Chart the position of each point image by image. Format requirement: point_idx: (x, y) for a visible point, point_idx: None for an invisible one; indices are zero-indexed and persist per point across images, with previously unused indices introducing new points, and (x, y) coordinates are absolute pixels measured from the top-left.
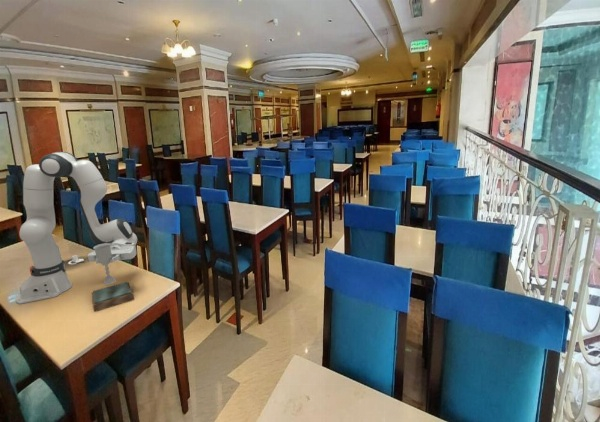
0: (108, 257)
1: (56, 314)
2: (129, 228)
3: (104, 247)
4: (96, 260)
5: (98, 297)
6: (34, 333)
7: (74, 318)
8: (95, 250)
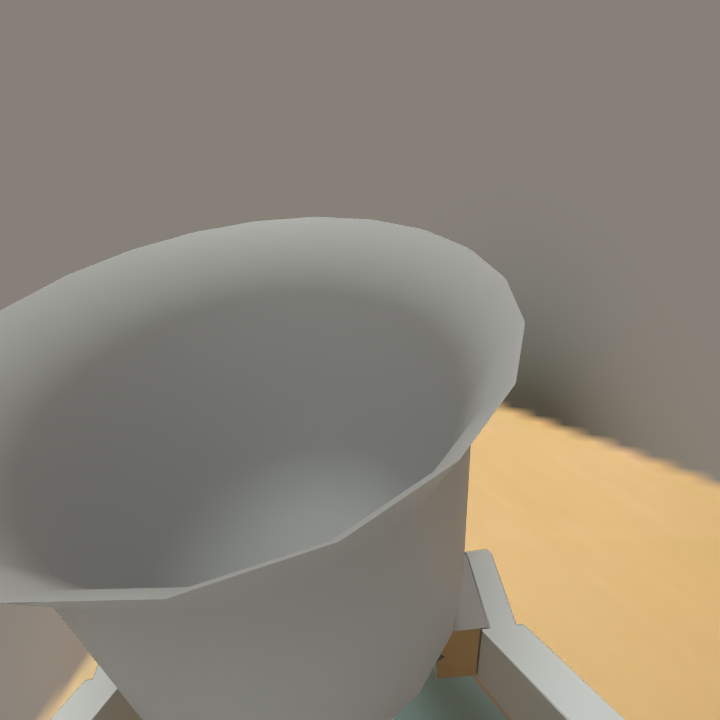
0: (179, 517)
1: (680, 593)
2: None
3: (305, 615)
4: (467, 551)
5: (436, 689)
6: (586, 442)
7: (494, 549)
8: (363, 277)
